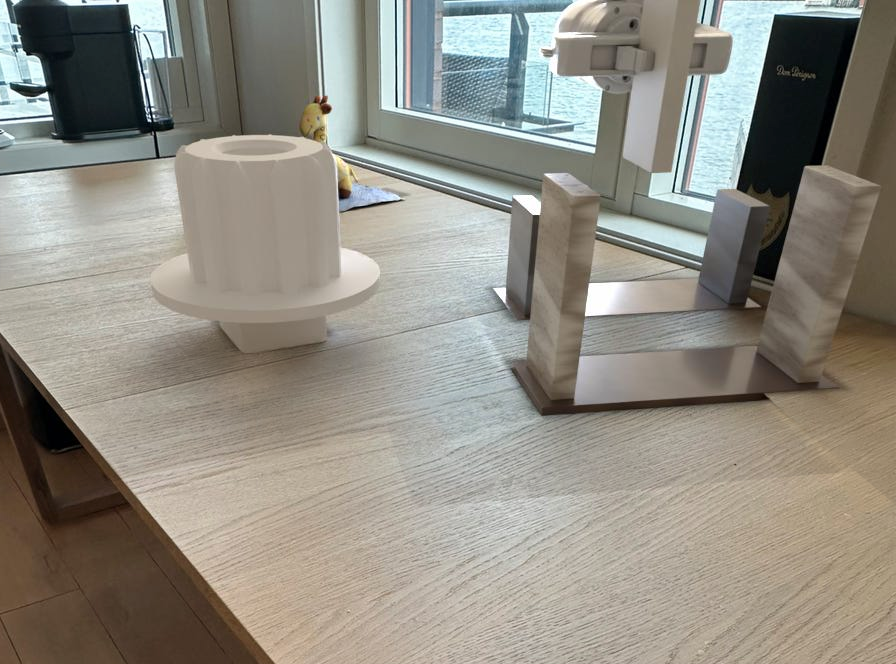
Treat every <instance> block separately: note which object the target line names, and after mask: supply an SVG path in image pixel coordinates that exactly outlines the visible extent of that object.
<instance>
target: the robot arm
mask: <svg viewBox="0 0 896 664" xmlns="http://www.w3.org/2000/svg"><path fill="white" fill-rule="evenodd" d="M643 3H644V0H578V1H575V2H574V3H573V2H572V3H571V4H570V5H568V6H567V7H566V8H565V9H564V10H563V11H562V13H561V14H560V16H559V17H558V19H557V22H556V23H555V27H554V32H553V36H552V39H551V44H550V45H548V46H541V47H540V48H539V52H538V53H539V56H540V57H542V58H548V59H550V61H549V70H550V71H551V72H552V73H553V74H554V75H555V76H557V77H562V78H574V79H576V80H578V81H580V82H582V83H585V84H589V85H590V86H592V87H594V88H597V89H598V90H599V89H600V90H601V91H604V92H606V93H609V94H615V95H622V94H623V95H624V94H626V93H629V92H630V93H631V91H632V84H633V76H635V75H636V71H639V72H642V71H652V70H653V68H654V60H655V51H651V50H641V49H637V47H638V44H640V37H639V32H640V25H641V18H642V10H643ZM733 41H734V40H733V35H732V34H731V33H730V32H727V31H725V30H724V29H720V28H718V27H715V26H712V25H709V24H705V23H700V22H697V24H696V30H695V36H694V42H693V48H692V54H691V60H690V66H689V71H688V77H692V76H717V75H718V76H719V75H722V74H724V73H726V71H727V70H728V67H729V64H730V60H731V56H732V51H733V43H734V42H733Z"/></svg>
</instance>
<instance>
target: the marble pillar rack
mask: <svg viewBox="0 0 896 664" xmlns="http://www.w3.org/2000/svg"><path fill="white" fill-rule="evenodd" d="M881 189H882V185H880V184H877V183H876V182H875V183H874V182H872V181H870V180H867V179H864V178H861V177H860V176H859V177H858V176H857V175H853V174H851V173H848V172H846V171H843V170H840V169H837V168H835V167H832V166H830V165H828V164H827V165H825V164H824V165H805V166H804V167H803V172H802V175H801V179H800V183H799V187H798V189H797V193H796V198H795V200H794V201H795V202H794V206H793V209H792V213H791V217H790V221H789V223H788V224H789V225H788V229H787V232H786V236H785V240H784V244H783V247H782V252H781V255H780V259H779V263H778V266H777V270H776V274H775V278H774V282H773V285H772V288H771V293H770V297H769V301H768V304H767V308H766V312H765V316H764V320H763V324H762V328H761V331H760V335H759V340H758V343H757V345H743V346H729V347H713V348H711V347H710V348H698V349H697V348H696V349H682V350H681V349H679V350H665V351H664V350H663V351H649V352H647V351H645V352H631V353H630V352H629V353H613V354H598V355H581V350H582V344H583V343H582V341H583V335H584V327H585V320H586V317H585V313H586V305H587V298H588V290H589V284H590V282H591V273H592V266H593V259H594V252H595V251H594V250H595V244H596V235H597V227H598V222H599V221H598V220H599V213H600V207H601V205H600V204H601V198H602V197H601V196H602V195H601V194H599V192H596V191H595V190H593V189H592V188H591V187H590V186H588V185H586V184H584V183H583V182H582V181H581V180H579V179H578V178H576V177H574V176H573V175H571V174H570V173H569V172H561V173H560V172H559V173H558V172H557V173H556V172H555V173H542V185H541V197H540V203H541V206H540V217H539V228H538V239H537V250H536V261H535V272H534V283H533V294H532V305H531V316H530V320H529V329H528V337H527V338H528V340H527V348H526V349H527V350H526V359H514V360H510V363H511V364H512V366H513V367H509V368H510V370H511V372H512V373H513V375H514V376H515V378H516V379H517V380H518V382H519V383H520V385H521V387H522V388H523V390H524V392H526V394H527V396H528V397H529V399H530V400H531V402H532V403H533V405H534V406H535V408H536V409H537V411H538V412H539V414H540V415H541V416H550V415H551V416H552V415H566V414H580V413H593V412H609V411H610V412H611V411H622V410H623V411H624V410H638V409H653V408H666V407H667V408H668V407H681V406H695V405H708V404H724V403H739V402H750V401H751V402H753V401H766V400H771V399H770V397H768V396H767V395H766V394H772V393H786V392H787V393H788V392H801V391H802V392H803V391H816V390H831V389H840V387H839V386H838V385H837V384H835V383H834V382H833V381H831V380H830V379H829V378H827V377H826V376H825V375H823V371H824V369H825V365H826V362H827V359H828V357H829V354H830V349H831V346H832V343H833V341H834V337H835V334H836V331H837V327H838V325H839V322H840V319H841V315H842V312H843V308H844V306H845V303H846V299H847V296H848V293H849V290H850V286H851V284H852V281H853V277H854V274H855V271H856V269H857V264H858V262H859V259H860V255H861V252H862V249H863V245H864V242H865V239H866V236H867V233H868V230H869V227H870V223H871V220H872V218H873V214H874V211H875V208H876V205H877V202H878V198H879V196H880V192H881Z"/></svg>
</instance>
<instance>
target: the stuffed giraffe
mask: <svg viewBox="0 0 896 664" xmlns="http://www.w3.org/2000/svg"><path fill="white" fill-rule="evenodd" d="M328 99H329V95H328V94H327V95H324V96H321V95H319V94H317V95H315V96H314V100H313V101H312V103H308V105H306V107H305V108H304V110H303V112H302V115H301V118H300V121H299V132H300V134H301V136H302V137H304V138H305V139H307V138H308V137H310V136H312V135H313V138H312V140H314V141H317V142H325V143H326V144H327V134H328V129H327V124H328V123H327V121H328V119H327V115H329V114H331V112H332V111H333V107H332V104H329V103H328ZM333 155H334V156H335V158H336V162H337V179H338V201H339V213H340V212H343V211H345V212H346V211H347V210H350V209H352V208H357V207H363V206H369V205H372V204H378V203H382V202H391V201H392V202H393V201H399V200H404V198H403V197H400V196H399V195H398V194H395V193H394V192H393V191H389V190H388V191H387V190H383V189H380V188H378V187H374V186H373V187H372V186H369V185H361V184H359V179H358V178H357V176H356V174H355V172H354V171H353V168H352V167H351V166H350V165H349V164H347V163H346V162H345V161H344V160H343V159H342V158H340V157H339V156H337V155H335V154H334V153H333ZM351 177H353V179H354V182H352V181H353V180H352V178H351Z"/></svg>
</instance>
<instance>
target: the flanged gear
mask: <svg viewBox="0 0 896 664" xmlns="http://www.w3.org/2000/svg"><path fill="white" fill-rule="evenodd" d="M333 154H334V153H333V151H332V149H331V148H330V146H329V145H328V144H327V142H326V143H325V142H317V141H314V140H313V139H310V138H305V137H303V136H299V137H298V136H292V135H291V136H290V135H277V134H276V135H275V134H271V133H269V134H247V135H245V134H244V135H236V134H232V135H230V136H221V137H214V138H207V139H206V138H205V139H204V138H201V139H199V141H195V142H192V143H190V144H188V145H180V147H179V148H178V150H177V152H176V154H175V160H174V167H173V168H174V174H175V182H176V187H177V194H178V200H179V201H178V202H179V208H180V213H181V221H182V227H183V234H184V239H185V246H186V252H185V253H183V254H179V255H177V256H174V257H172V258H170V259H168V260H166V261H165V262H163V263H161V264H160V265H158V266H157V267H156V268H155V269H154V270H153V271H152V272H151V274H150V278H149V280H150V287H151V293H152V296H153V298H154V300H156V301H157V302H158V303H159V304H160V305H161V306H163V307H165V308H166V309H168V310H170V311H173V312H175V313H177V314H181V315H184V316H188V317H191V318H196V319H201V320H208V321H213V322H214V321H215V322H219V327H220V328H221V330H222V332H224V333H225V335H226V336H227V337H228V338H229V339H230V341H231V342H232V343H233V344H234V345H235V347H236V348H237V349H238V350H239V351H240V352H241V353H242V354H244V355H252V354H258V353H264V352H271V351H276V350H283V349H289V348H295V347H296V348H297V347H301V346H307V345H308V346H309V345H315V344H320V343H324V342H327V341H328V331H327V316H331V315H333V314H339V313H342V312H344V311H348V310H350V309H353V308H355V307H358V306H361V305H362V304H364V303H365V302H367V301H369V300H370V299H371V298H373V297H374V296H375V295H376V294H377V293H378V292H379V290H380V288H381V269H380V266H379V265H378V263H377V262H376V261H375V260H373V259H372V258H371V257H369V256H368V255H365V254H363V253H361V252H358V251H355V250H353V249H349V248H346V247H343V246H342V245H341V226H340V223H341V222H340V212H339V201H338V179H337V162H336V158H335V156H334V155H335V154H334V155H333Z"/></svg>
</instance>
